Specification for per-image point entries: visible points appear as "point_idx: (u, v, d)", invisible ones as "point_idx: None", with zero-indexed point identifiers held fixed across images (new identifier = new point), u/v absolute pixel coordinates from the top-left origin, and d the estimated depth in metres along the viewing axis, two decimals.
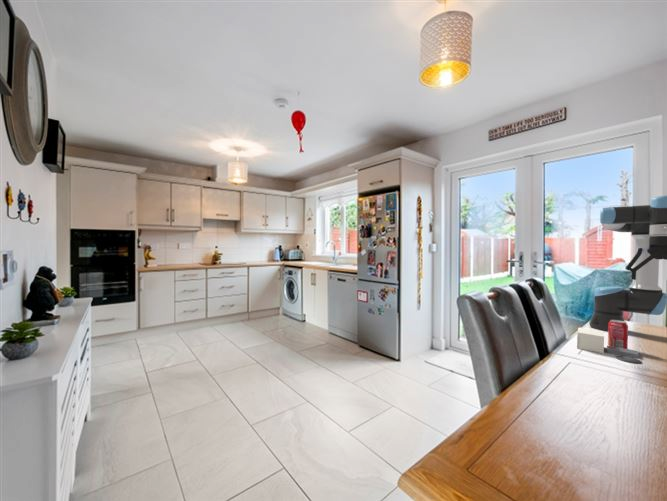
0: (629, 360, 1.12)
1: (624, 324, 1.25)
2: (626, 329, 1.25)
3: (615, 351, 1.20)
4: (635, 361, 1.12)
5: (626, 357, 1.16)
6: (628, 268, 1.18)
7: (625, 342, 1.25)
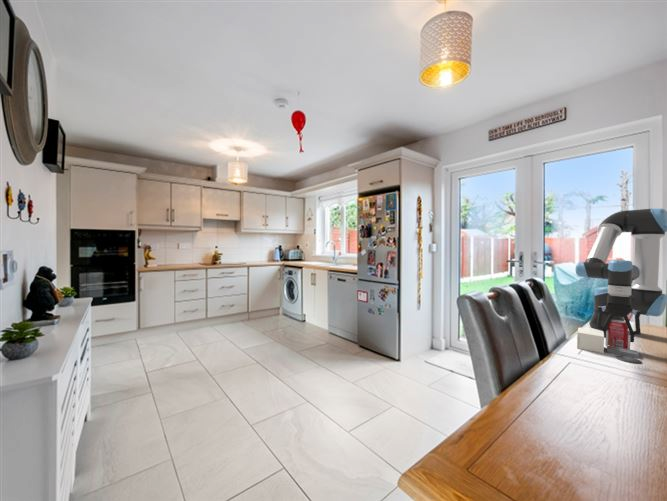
0: (629, 360, 1.12)
1: (624, 324, 1.25)
2: (626, 329, 1.25)
3: (615, 351, 1.20)
4: (635, 361, 1.12)
5: (626, 357, 1.16)
6: (599, 327, 1.31)
7: (625, 342, 1.25)
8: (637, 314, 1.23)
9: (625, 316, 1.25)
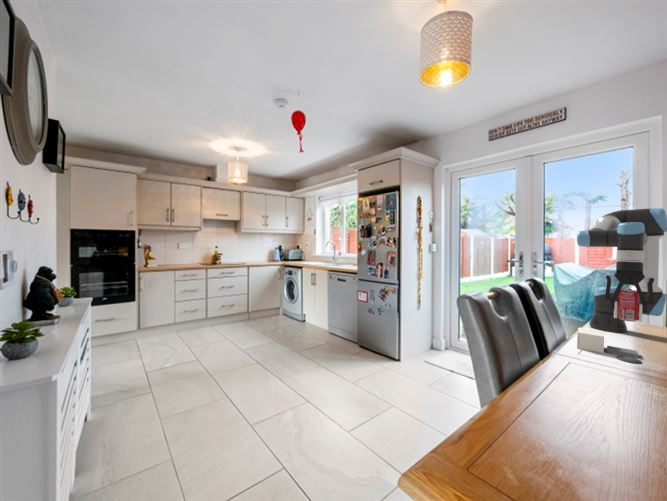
0: (629, 360, 1.12)
1: (635, 293, 1.12)
2: (637, 298, 1.12)
3: (615, 351, 1.20)
4: (635, 361, 1.12)
5: (626, 357, 1.16)
6: (607, 297, 1.18)
7: (637, 313, 1.12)
8: (650, 281, 1.10)
9: (636, 284, 1.12)
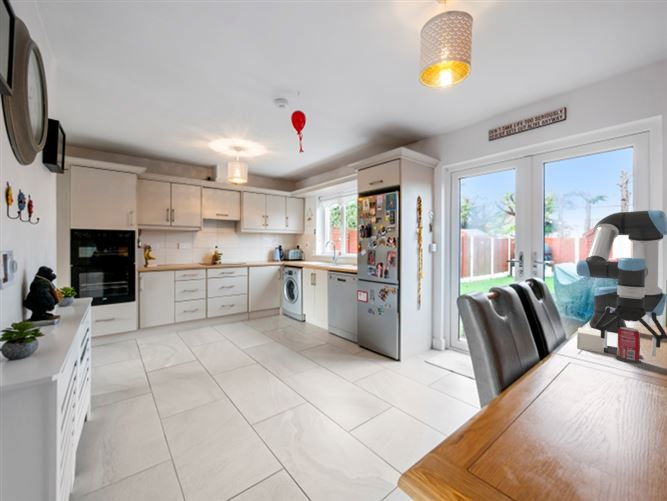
0: (629, 360, 1.12)
1: (636, 332, 1.11)
2: (638, 338, 1.11)
3: (615, 351, 1.20)
4: (635, 361, 1.12)
5: None
6: (597, 326, 1.19)
7: (637, 353, 1.11)
8: (653, 316, 1.09)
9: (640, 320, 1.11)
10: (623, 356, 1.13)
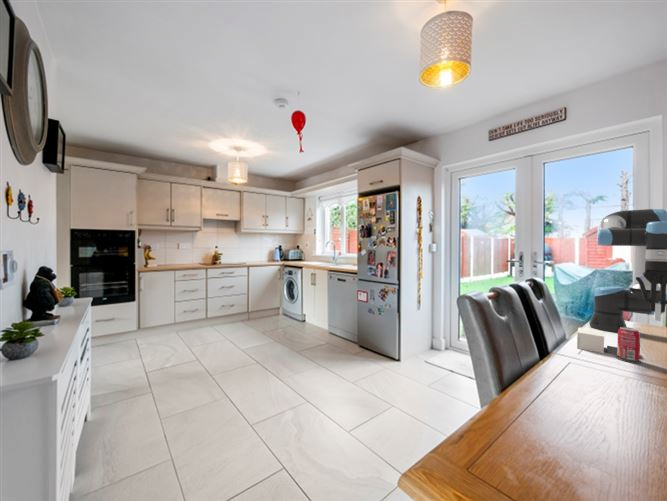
0: (629, 360, 1.12)
1: (636, 332, 1.11)
2: (638, 338, 1.11)
3: (615, 351, 1.20)
4: (635, 361, 1.12)
5: None
6: (647, 299, 1.15)
7: (637, 353, 1.11)
8: None
9: (664, 283, 1.12)
10: (623, 356, 1.13)
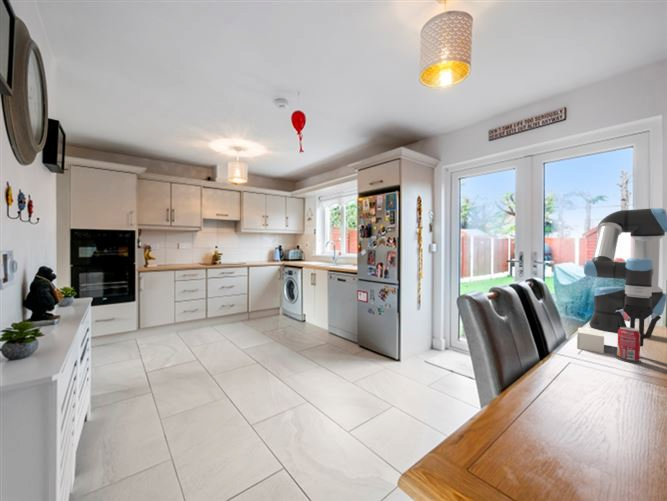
0: (629, 360, 1.12)
1: (636, 332, 1.11)
2: (638, 338, 1.11)
3: (611, 350, 1.21)
4: (635, 361, 1.12)
5: None
6: None
7: (637, 353, 1.11)
8: (656, 318, 1.14)
9: (642, 319, 1.16)
10: (623, 356, 1.13)
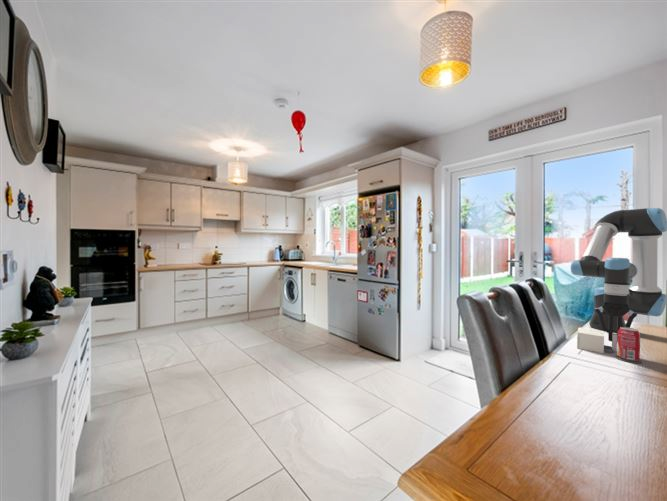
0: (629, 360, 1.12)
1: (636, 332, 1.11)
2: (638, 338, 1.11)
3: None
4: (635, 361, 1.12)
5: None
6: (605, 330, 1.24)
7: (637, 353, 1.11)
8: (632, 315, 1.18)
9: (620, 316, 1.20)
10: (623, 356, 1.13)
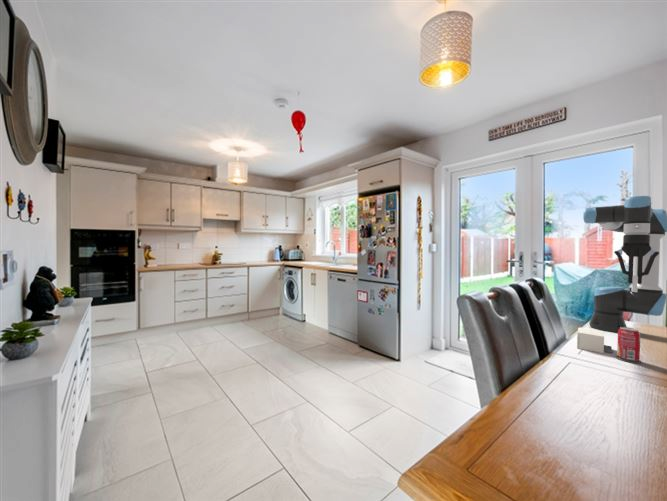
0: (629, 360, 1.12)
1: (636, 332, 1.11)
2: (638, 338, 1.11)
3: None
4: (635, 361, 1.12)
5: None
6: (625, 272, 1.20)
7: (637, 353, 1.11)
8: (654, 254, 1.14)
9: (640, 256, 1.16)
10: (623, 356, 1.13)
